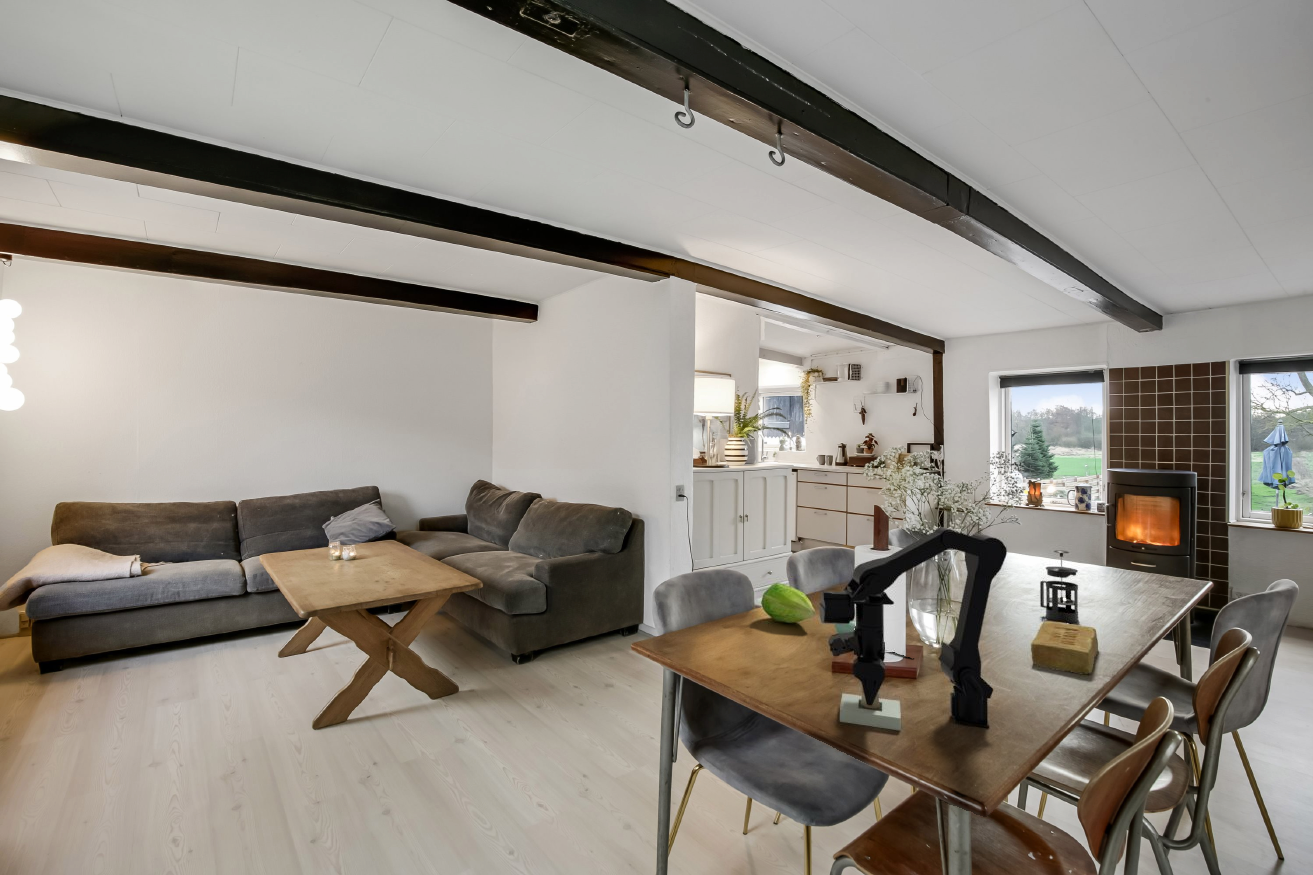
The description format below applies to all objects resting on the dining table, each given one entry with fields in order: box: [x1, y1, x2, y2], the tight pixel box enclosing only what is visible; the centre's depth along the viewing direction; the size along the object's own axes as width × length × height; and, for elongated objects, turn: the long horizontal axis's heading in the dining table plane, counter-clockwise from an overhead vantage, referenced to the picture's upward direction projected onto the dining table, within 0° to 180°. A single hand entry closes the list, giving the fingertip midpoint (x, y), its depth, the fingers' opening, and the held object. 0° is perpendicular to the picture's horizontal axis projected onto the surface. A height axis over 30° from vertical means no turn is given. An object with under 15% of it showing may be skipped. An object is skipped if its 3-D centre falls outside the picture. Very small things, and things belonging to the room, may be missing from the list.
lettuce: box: [760, 582, 816, 623], centre depth 200 cm, size 14×20×12 cm
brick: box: [1030, 620, 1099, 675], centre depth 169 cm, size 13×26×7 cm, turn 141°
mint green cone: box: [834, 620, 856, 635], centre depth 179 cm, size 5×6×27 cm
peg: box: [860, 681, 880, 711], centre depth 132 cm, size 4×4×9 cm
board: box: [839, 693, 902, 732], centre depth 132 cm, size 12×9×2 cm
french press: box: [1039, 549, 1080, 624], centre depth 204 cm, size 12×9×23 cm
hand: (869, 696), depth 132 cm, fingers open, 9 cm apart
